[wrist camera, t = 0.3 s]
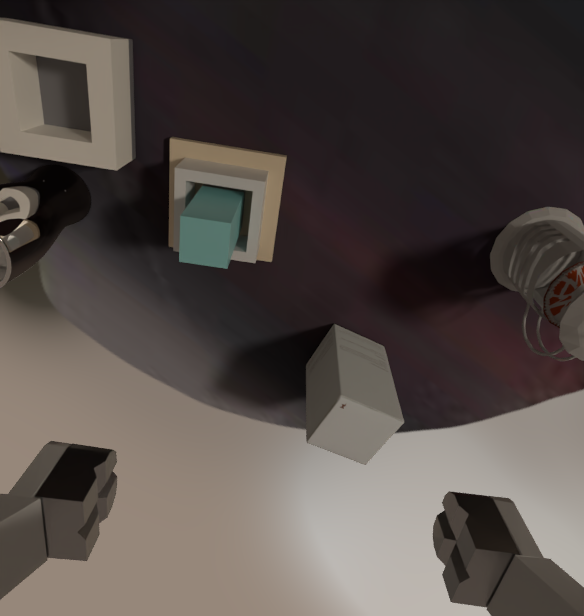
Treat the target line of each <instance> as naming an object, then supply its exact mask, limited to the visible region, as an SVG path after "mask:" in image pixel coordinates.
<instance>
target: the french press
mask: <svg viewBox="0 0 584 616" xmlns="http://www.w3.org/2000/svg"><path fill="white" fill-rule="evenodd" d="M490 263H491V271H492V273H493V275H494V276H495V278H496V279H497V281H498V283H500V284H501V285H503V286H505V287H506V288H508V289H510V290H512V291H518V292H519V293H520V294H521V295H522V297H523V298H524V299H525V300H526V301H527V307H526V310H525V313H524V316H523V322H522V330H523V336H524V339H525V341H526V343H527V345H528V346H529V347H530V349H531V350H532V351H533V352H535V353H536V354H538V355H542V356H549V357H551V358H553V359H556V360H559V361H566V360H571V359H573V358H576V357H577V358H578V359H580V360H583V361H584V226H583V224H582V221H581V219H580V218H578V217H577V216H576V215H574V214H573V213H571V212H570V211H568V210H567V209H560V208H553V207H545V208H541V209H536V210H532V211H528V212H526V213H525V214H523V215H521V216H520V217H518V218H516V219H515V220H513V221H511V222H510V223H509V224H508V225H507V226H506V227H505V228H504V230H503V231H502V232H501V233H500V234H499V235H498V237H497V238H496V240H495V243H494V245H493V248H492V251H491V253H490ZM524 292H527V295H526V294H525V293H524ZM533 298H534V299H535V300H536V301H537V302H538V304H539V305H540V306H541V311H540V310H539V309H538V308H537V307H536V306H535V304H534V303H533ZM530 305H531V306H532V307H533V308H534V310H535V311H536V312H537V313H538V314H539V319H538V322H537V338H538V341H539V345H540V347H541V348H542V349H543V351H544V352H545V353H542V352H539V351H537V350H536V349H534V348H533V347H532V345H531V343H530V342H529V340H528V338H527V335H526V330H525V322H526V317H527V313H528V310H529V307H530ZM543 312H544V314H545V315H546V317H547V318H546V317H545V316H544V315H543ZM542 317H543V318H545V319H546V320H547V319H548V321H549V322H550V323H551V324H553V325H555V326H557V327H558V328H560V338H559V339H560V341H561V342H562V344H563V346H562V348H560V349H558V350H557V351H555V352H552V353H549V352H548V351H547V350H546V349H545V347H544V346H543V344H542V341H541V338H540V334H539V327H540V321H541V318H542ZM564 348H565V349H566V351H567V352H568V353H570V354H571V355H573V356H571V357H567V358H558V357H555V356H553V355H555V354H557V353H559V352H561V351H563V350H564Z"/></svg>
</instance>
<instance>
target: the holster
mask: <svg viewBox="0 0 584 616" xmlns="http://www.w3.org/2000/svg"><path fill="white" fill-rule="evenodd" d="M286 157H287V156H286V155H280V154H274V153H268V152H262V151H255V150H249V149H243V148H237V147H231V146H225V145H219V144H213V143H206V142H200V141H194V140H188V139H182V138H176V137H171V138H170V171H169V247H173V251H177V252H179V248H180V215H181V214H182V213H183V211H184V210H185V209H186V207H187V206H188V205H189V203H190V202H191V200H192V199H193V198H194V196H195V195H196V194H197V192H198V191H199V189H200V188H201V187H202V185H203V184H210V185H216V186H222V187H229V188H235V189H241V190H246V193H245V203H244V213H243V223H242V228H241V231H240V234H239V237H238V239H237V242H236V245H235V248H234V251H233V254H232V256H231V260H237V261H244V262H251V263H256V260H261V261H268V262H272V256H273V249H274V242H275V235H276V228H277V221H278V214H279V207H280V199H281V192H282V185H283V178H284V171H285V164H286Z"/></svg>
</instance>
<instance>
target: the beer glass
mask: <svg viewBox="0 0 584 616" xmlns="http://www.w3.org/2000/svg"><path fill="white" fill-rule="evenodd" d="M90 207H91V196H90V192H89V189H88V187H87V185H86V184H85V182H84V181H83V180H82V178H81V177H80V176H79V175H78V174H76V173H75V172H74V171H72V170H71V169H69V168H67V167H64V166H61V165H45V166H42V167H40V168H38V169H37V170H36V171H35V172H33V173H32V174H31V176H30V177H29V178H28V179H26V180H23V181H19V182H12V183H6V184H0V288H1V287H3V286H4V285H5V284H6V283H8V282H10V281H11V280H13V279H15V278H16V277H18V276H19V275H21V274H22V273H24V272H25V271H27V270H28V269H29V268H31V267H32V266H33V265H34V264H36V263H37V262H38V261H39V260H40V259H41V258H42V257H43V256H44V255H45V254H46V253H47V251H48V250H49V249H50V248H51V246H52V245H53V243H54V242H55V240H56V239H57V237H58V236H59V234H60V233H61V232H62V230H63V229H64V228H65V227H66V226H69V225H72V224H75V223H77V222H79V221H81V220H82V219H84V218H85V217H86V216H87V214H88V212H89V210H90Z"/></svg>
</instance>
